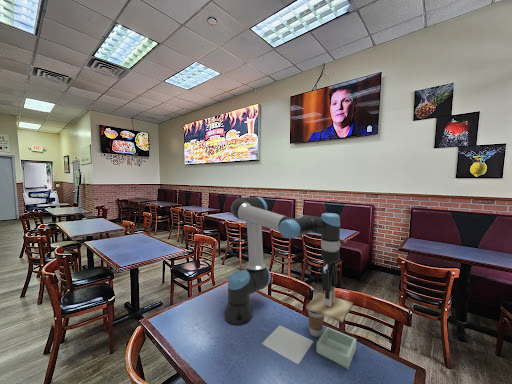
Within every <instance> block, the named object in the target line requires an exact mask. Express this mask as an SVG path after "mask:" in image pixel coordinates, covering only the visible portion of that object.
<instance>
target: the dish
mask: <svg viewBox="0 0 512 384" xmlns="http://www.w3.org/2000/svg"><path fill="white" fill-rule="evenodd" d="M356 351H357V338H355V337H353V336H350V335H348V334H345V333H343V332H341V331H338V330H336V329H333V328H331V327H329V326H326V327H325V329H324V330H323V331H322V335H321V336H319V338H318V340H317V341H316V352H315V353H317V354H319V355H320V356H322V357H324V358H327V359H328V360H331V361H333V362H334V363H335V364H338V365H339V366H340V367H341V368H343V369H345V370H347V371H349V369H350V367H351V364H352V361H353V359H354V357H355V354H356Z"/></svg>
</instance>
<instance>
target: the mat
mask: <svg viewBox="0 0 512 384" xmlns="http://www.w3.org/2000/svg"><path fill="white" fill-rule="evenodd" d="M261 344H262V345H263V346H265V347H267V348H268V349H270V350H272V351H274V352H276V353H277V354H279V355H281V356H283V357H284V358H286V359H288V360H289V361H290V362H293V363H294V364H296V365H299V363H300V362H301V361H302V360H303V358H304V356H305V355H306V353H307V352H308V351H309V349H310V348H311V346H312V344H314V340H312V339H310V338H308V337H306V336H303V335H301V334H299V333H298V332H295V331H293V330H290V329H289V328H287V327H284V326H283V325H281V324H280V325H278V326H277V327H276V328H275V329H274V330H273V332H271V334H269V336H267V337H266V338H265V340H263V342H261Z"/></svg>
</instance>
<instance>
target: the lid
mask: <svg viewBox="0 0 512 384" xmlns="http://www.w3.org/2000/svg"><path fill="white" fill-rule="evenodd" d="M331 291H332V304H331V307H329V306H327V305H325V293H324V292H318V293H317V294H316V295H315V296H314V297H313V298H312V299H311V300H310V301H311V302H310V303H309V304H308V303H307V304H306V305H305V308H306V310H307V311H308V310H310V311H313V312H316V313H318V314H321V315H323V316H324V317H327V318H328V319H332V320H334V321H337V322H340V323H343V322H344V321H345V319H346V318H347V316H348V314H349V312H350V311H351V309H352V307H353V306H354V303H353V302H351V301H348V300H345V299H341V298H339V297H336V296H335V302H334V288H333V287H331Z"/></svg>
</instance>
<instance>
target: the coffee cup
mask: <svg viewBox="0 0 512 384" xmlns="http://www.w3.org/2000/svg"><path fill="white" fill-rule="evenodd" d="M311 301H312V300H309V301H308V302H307V305H308V304H309V303H310V302H311ZM307 318H308V319H307V320H308V332H309V334H310V335H311V336H313V337H317V338H318V337H319V338H320V337H321V335H322V334H323V328H324V322H325V321H324V320H325V316H323V315H321V314H318V313H316V312H313V311H310V310H308V309H307Z"/></svg>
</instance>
